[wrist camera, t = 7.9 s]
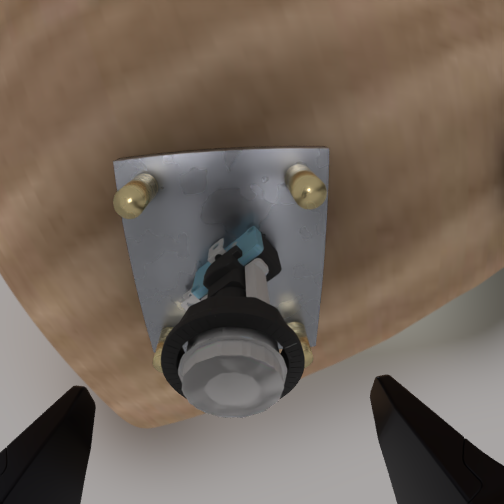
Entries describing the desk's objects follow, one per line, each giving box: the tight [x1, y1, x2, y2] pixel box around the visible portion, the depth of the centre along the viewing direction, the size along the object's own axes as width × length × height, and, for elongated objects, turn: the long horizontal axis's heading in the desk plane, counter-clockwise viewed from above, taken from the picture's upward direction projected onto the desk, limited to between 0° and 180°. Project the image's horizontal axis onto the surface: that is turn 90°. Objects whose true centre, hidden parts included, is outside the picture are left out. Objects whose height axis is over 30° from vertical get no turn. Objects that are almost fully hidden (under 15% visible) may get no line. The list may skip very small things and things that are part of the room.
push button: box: [161, 226, 305, 418], centre depth 15 cm, size 7×5×10 cm
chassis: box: [113, 146, 329, 373], centre depth 19 cm, size 12×14×4 cm
